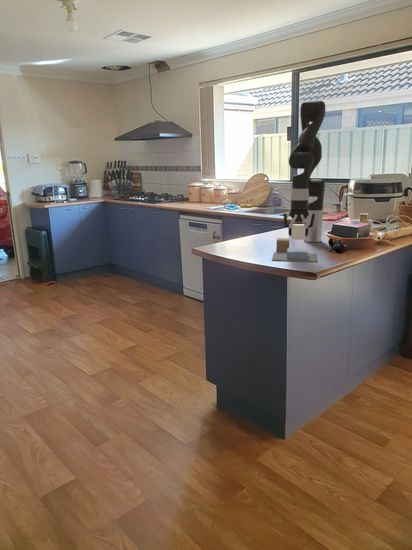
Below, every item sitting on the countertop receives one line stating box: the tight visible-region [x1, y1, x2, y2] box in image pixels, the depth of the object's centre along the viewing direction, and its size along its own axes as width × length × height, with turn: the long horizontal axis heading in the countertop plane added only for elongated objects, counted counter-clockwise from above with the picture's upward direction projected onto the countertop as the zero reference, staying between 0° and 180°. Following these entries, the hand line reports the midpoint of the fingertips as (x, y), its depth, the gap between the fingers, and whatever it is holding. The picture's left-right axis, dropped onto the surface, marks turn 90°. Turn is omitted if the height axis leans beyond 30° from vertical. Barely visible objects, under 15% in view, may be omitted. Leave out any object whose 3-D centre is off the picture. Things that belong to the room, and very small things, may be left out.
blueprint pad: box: [271, 247, 319, 263], centre depth 197 cm, size 16×20×4 cm
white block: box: [290, 223, 306, 241], centre depth 194 cm, size 6×6×6 cm
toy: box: [327, 237, 347, 253], centre depth 213 cm, size 9×6×15 cm
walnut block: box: [275, 237, 291, 253], centre depth 212 cm, size 6×6×6 cm
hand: (298, 236), depth 195 cm, fingers closed on white block, 6 cm apart
